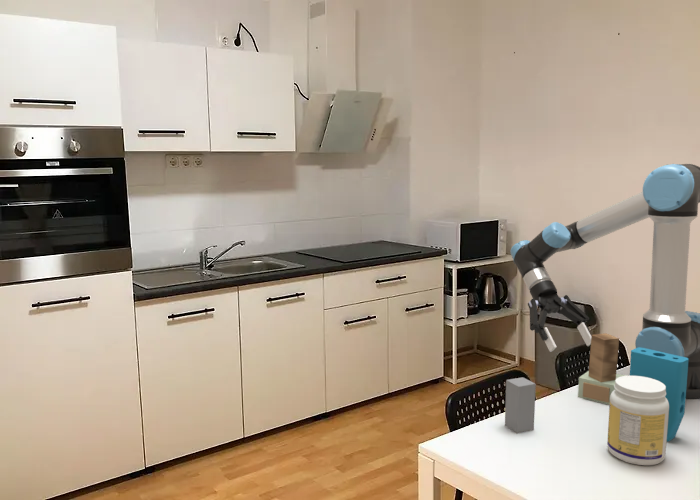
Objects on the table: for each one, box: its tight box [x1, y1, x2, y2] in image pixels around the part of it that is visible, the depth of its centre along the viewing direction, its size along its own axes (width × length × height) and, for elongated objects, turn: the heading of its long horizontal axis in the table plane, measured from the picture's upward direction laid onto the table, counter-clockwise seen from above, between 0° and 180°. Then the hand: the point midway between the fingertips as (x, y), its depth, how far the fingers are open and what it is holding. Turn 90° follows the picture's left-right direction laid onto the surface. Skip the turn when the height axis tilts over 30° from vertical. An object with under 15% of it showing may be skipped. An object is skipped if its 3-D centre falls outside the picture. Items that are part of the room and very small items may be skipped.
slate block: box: [504, 377, 537, 434], centre depth 156 cm, size 5×5×12 cm
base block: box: [577, 370, 626, 406], centre depth 176 cm, size 10×10×6 cm
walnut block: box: [588, 332, 620, 382], centre depth 174 cm, size 5×5×12 cm
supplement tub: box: [606, 375, 669, 466], centre depth 141 cm, size 12×12×17 cm
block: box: [629, 347, 689, 443], centre depth 152 cm, size 12×5×20 cm, turn 40°
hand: (572, 346), depth 182 cm, fingers open, 13 cm apart
